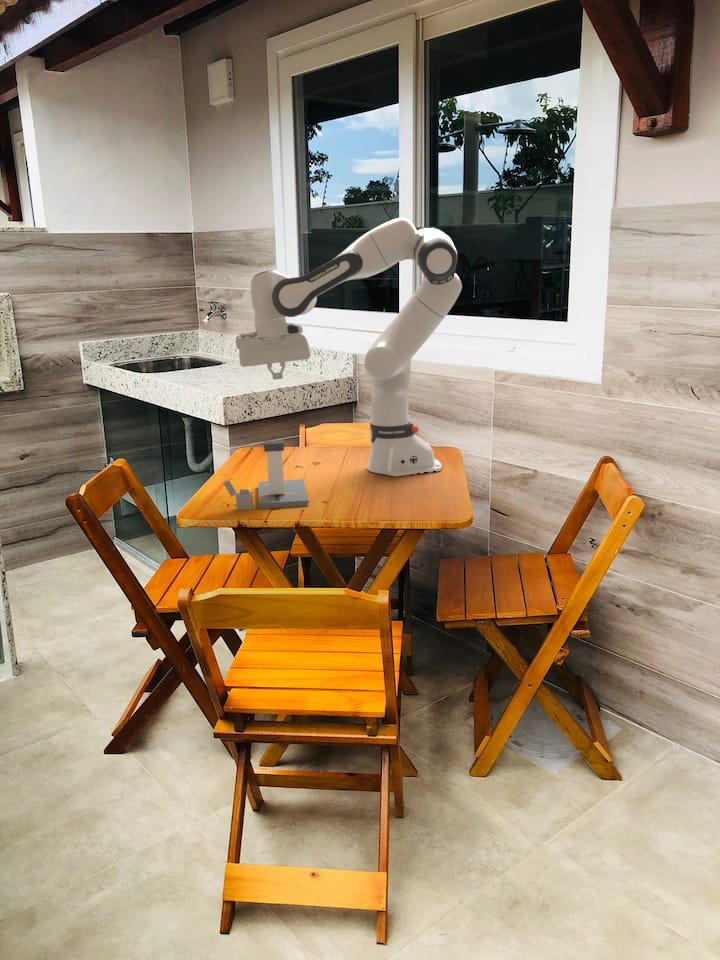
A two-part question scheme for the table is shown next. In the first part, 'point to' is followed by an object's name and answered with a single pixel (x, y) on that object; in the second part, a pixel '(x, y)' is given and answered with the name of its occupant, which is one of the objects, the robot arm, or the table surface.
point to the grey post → (275, 466)
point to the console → (283, 495)
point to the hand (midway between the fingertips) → (277, 379)
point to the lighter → (240, 496)
